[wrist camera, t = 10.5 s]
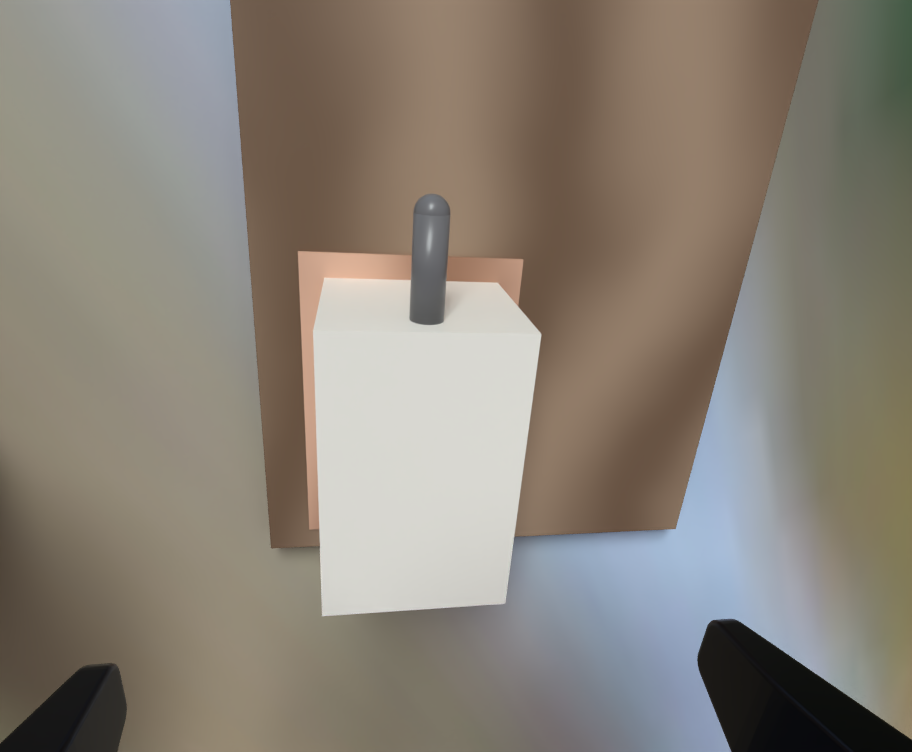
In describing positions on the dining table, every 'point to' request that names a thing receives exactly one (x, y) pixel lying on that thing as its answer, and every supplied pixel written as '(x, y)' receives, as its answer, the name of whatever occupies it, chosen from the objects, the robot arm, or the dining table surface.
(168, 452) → the dining table surface
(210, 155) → the dining table surface
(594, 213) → the mounting board
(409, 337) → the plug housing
